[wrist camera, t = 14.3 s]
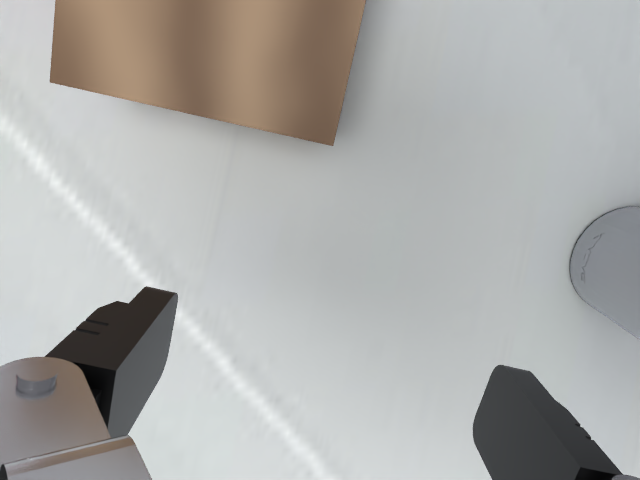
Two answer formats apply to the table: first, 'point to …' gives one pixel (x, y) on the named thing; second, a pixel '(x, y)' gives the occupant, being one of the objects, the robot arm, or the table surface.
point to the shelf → (215, 58)
